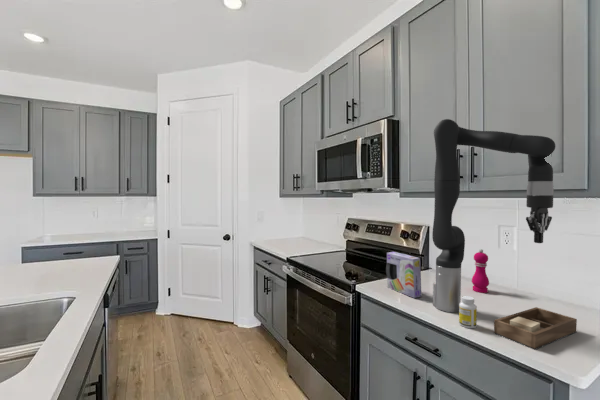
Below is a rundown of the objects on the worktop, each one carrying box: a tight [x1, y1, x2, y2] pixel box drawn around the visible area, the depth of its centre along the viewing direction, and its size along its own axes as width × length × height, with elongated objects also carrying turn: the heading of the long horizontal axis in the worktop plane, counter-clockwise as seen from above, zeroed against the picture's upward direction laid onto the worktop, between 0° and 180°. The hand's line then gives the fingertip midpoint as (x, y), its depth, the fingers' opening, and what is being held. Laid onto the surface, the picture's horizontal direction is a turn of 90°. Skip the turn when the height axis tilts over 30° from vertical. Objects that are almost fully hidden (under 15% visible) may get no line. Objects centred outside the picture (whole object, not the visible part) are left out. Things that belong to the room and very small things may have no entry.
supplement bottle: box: [458, 295, 478, 329], centre depth 109 cm, size 5×5×10 cm
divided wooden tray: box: [493, 306, 578, 350], centre depth 104 cm, size 12×26×4 cm, turn 118°
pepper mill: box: [471, 248, 490, 294], centre depth 148 cm, size 7×7×20 cm
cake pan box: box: [385, 251, 422, 299], centre depth 145 cm, size 19×5×18 cm, turn 23°
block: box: [510, 317, 540, 333], centre depth 99 cm, size 6×6×4 cm
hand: (538, 242), depth 111 cm, fingers closed
